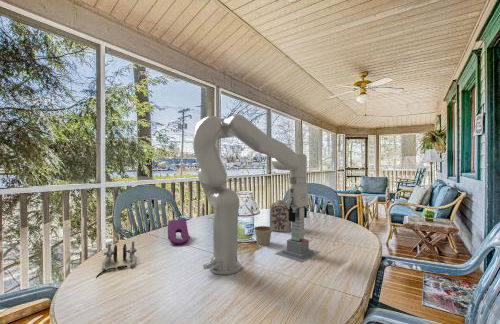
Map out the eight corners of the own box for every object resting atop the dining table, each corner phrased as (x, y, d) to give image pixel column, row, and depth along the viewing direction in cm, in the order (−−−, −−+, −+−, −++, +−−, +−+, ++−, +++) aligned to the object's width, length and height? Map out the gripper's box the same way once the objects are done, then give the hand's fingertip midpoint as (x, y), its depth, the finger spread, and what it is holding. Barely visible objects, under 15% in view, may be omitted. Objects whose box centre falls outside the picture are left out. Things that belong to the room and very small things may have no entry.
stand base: (302, 265, 105) (302, 246, 105) (274, 256, 114) (274, 239, 114) (320, 254, 117) (320, 237, 117) (294, 247, 126) (294, 231, 126)
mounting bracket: (188, 254, 133) (184, 230, 148) (190, 241, 130) (185, 219, 145) (169, 256, 130) (167, 232, 145) (170, 243, 126) (168, 220, 141)
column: (299, 241, 112) (299, 208, 112) (291, 239, 115) (291, 207, 115) (304, 239, 115) (304, 207, 115) (296, 237, 118) (296, 206, 118)
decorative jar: (269, 231, 155) (269, 201, 155) (273, 226, 166) (273, 198, 166) (289, 232, 152) (289, 202, 152) (291, 227, 163) (291, 199, 163)
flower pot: (250, 246, 127) (250, 229, 127) (258, 241, 135) (258, 225, 135) (267, 250, 122) (268, 231, 122) (275, 244, 131) (275, 227, 131)
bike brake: (103, 256, 111) (95, 284, 93) (103, 242, 110) (95, 266, 92) (138, 253, 117) (136, 278, 98) (138, 238, 116) (137, 262, 97)
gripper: (294, 182, 106) (294, 224, 106) (315, 180, 119) (314, 217, 119) (279, 181, 111) (279, 221, 111) (300, 179, 124) (300, 215, 124)
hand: (297, 219), depth 115 cm, fingers open, 9 cm apart
